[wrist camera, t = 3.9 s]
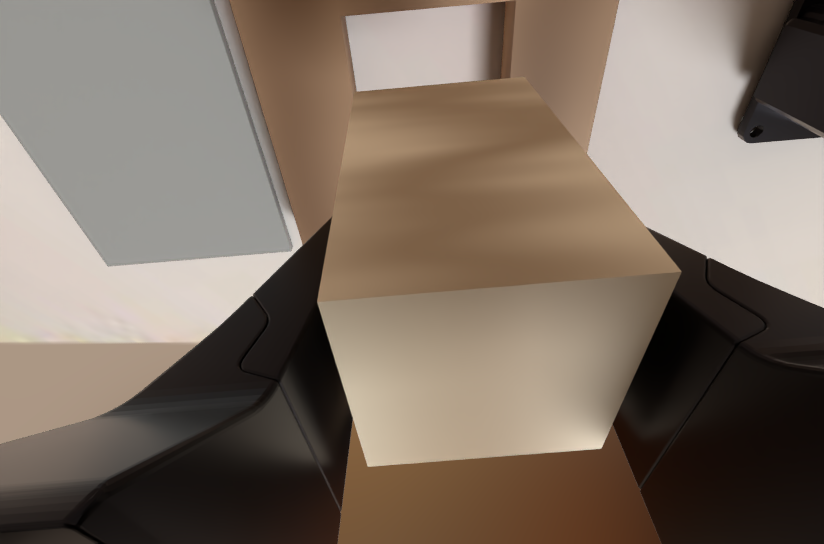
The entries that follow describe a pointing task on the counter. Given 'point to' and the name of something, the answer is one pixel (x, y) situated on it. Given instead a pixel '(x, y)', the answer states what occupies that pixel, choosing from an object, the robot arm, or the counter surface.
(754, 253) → the counter surface
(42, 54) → the mat
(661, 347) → the robot arm
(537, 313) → the block
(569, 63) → the pocket board
